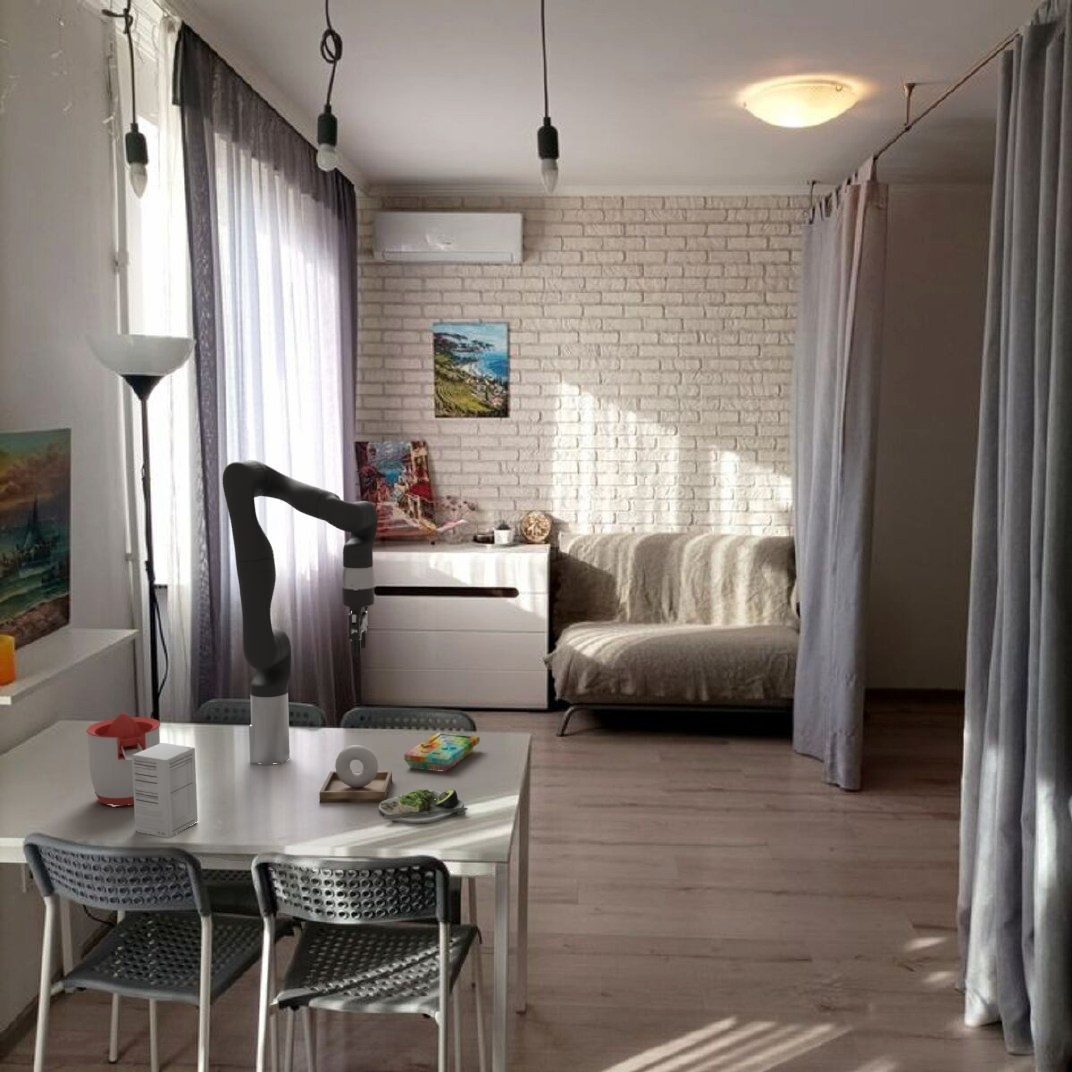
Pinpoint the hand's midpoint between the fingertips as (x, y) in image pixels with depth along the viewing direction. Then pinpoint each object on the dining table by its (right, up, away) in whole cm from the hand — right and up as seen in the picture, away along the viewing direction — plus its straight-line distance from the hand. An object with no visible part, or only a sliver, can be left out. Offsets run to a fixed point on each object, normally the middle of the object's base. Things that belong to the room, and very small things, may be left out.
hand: (358, 652), depth 274 cm
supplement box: (-36, -34, -33) cm, 59 cm away
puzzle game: (+19, -29, +14) cm, 38 cm away
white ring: (+1, -30, -10) cm, 32 cm away
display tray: (+1, -31, -10) cm, 33 cm away
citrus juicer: (-50, -32, -16) cm, 61 cm away
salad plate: (+18, -33, -22) cm, 44 cm away
